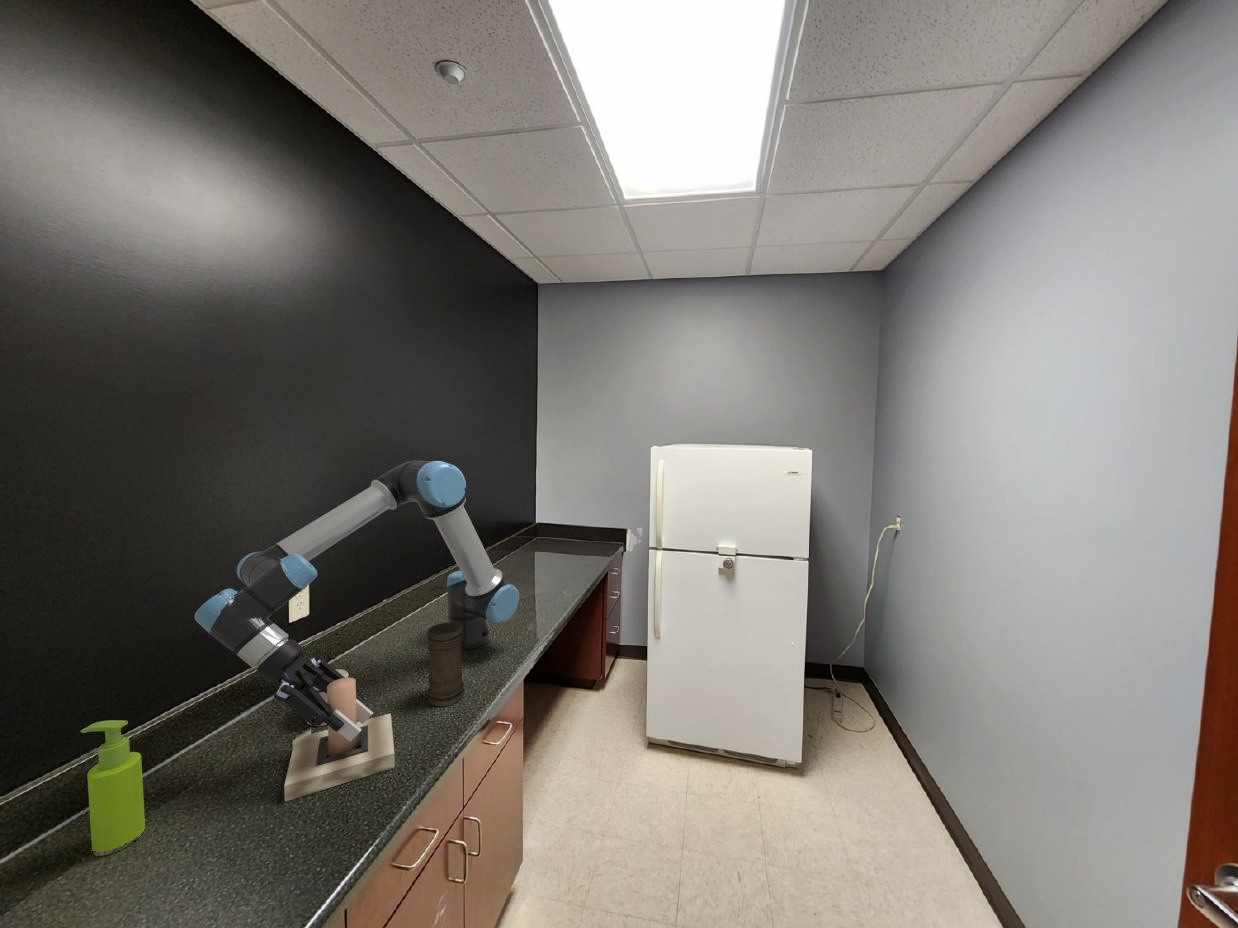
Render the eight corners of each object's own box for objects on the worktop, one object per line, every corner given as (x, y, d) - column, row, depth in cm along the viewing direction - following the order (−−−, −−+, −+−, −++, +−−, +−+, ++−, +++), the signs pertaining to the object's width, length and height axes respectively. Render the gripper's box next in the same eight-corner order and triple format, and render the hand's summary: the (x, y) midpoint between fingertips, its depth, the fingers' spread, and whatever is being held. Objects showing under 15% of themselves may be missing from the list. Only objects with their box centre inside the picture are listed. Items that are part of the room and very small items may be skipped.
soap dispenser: (111, 826, 77) (104, 713, 76) (155, 823, 78) (149, 711, 77) (73, 858, 71) (65, 736, 70) (120, 855, 72) (113, 734, 71)
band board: (390, 725, 105) (390, 711, 104) (394, 767, 92) (394, 751, 91) (295, 751, 96) (295, 736, 96) (284, 801, 83) (284, 783, 83)
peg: (357, 738, 97) (355, 675, 96) (356, 753, 93) (355, 686, 92) (329, 746, 94) (327, 681, 94) (327, 761, 90) (326, 693, 89)
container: (452, 708, 111) (451, 637, 110) (419, 704, 113) (418, 634, 112) (471, 689, 120) (470, 622, 119) (440, 685, 122) (439, 619, 121)
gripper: (286, 646, 99) (367, 713, 102) (225, 691, 82) (326, 771, 85) (311, 621, 100) (391, 689, 103) (257, 661, 82) (355, 742, 85)
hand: (361, 726), depth 94 cm, fingers closed on peg, 5 cm apart
